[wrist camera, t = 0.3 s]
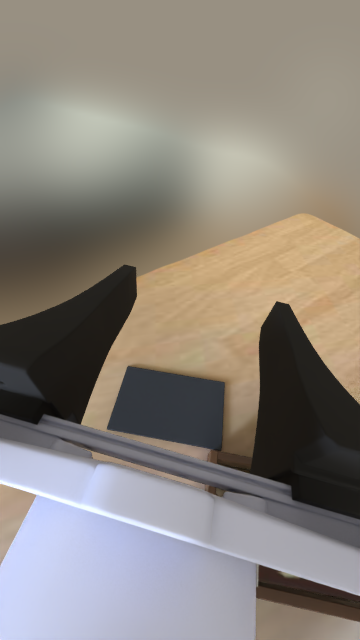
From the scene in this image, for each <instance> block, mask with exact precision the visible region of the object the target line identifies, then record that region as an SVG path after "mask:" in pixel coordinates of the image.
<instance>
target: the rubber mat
mask: <svg viewBox="0 0 360 640" xmlns="http://www.w3.org/2000/svg"><path fill="white" fill-rule="evenodd" d="M224 387H225V382H219V381H213V380H207V379H201V378H195V377H189V376H183V375H177V374H172V373H166V372H160V371H154V370H148V369H142V368H136V367H130V366H128V367H127V370H126V373H125V376H124V379H123V382H122V385H121V388H120V391H119V394H118V397H117V400H116V403H115V406H114V409H113V412H112V415H111V418H110V421H109V424H108V427H107V429H108V430H114V431H119V432H124V433H129V434H135V435H140V436H145V437H151V438H156V439H161V440H167V441H172V442H177V443H183V444H188V445H193V446H198V447H204V448H209V449H214V450H220V451H221V449H222V429H223V408H224Z"/></svg>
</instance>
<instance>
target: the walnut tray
mask: <svg viewBox="0 0 360 640" xmlns="http://www.w3.org/2000/svg"><path fill="white" fill-rule="evenodd" d="M207 462H211V463H214V464H222V465H227V466H233V467H238V468H243V469H248V470H251V464H252V458H251V457H245V456H240V455H235V454H229V453H224V452H218V451H214V450H211V451H210V453H209V454H208V461H207ZM205 491H207V492H209V493H211V494H214V495H215V494H216V487H212V486H209V485H206V486H205ZM256 598H258V599H262V600H267V601H271V602H275V603H280V604H284V605H288V606H293V607H297V608H301V609H306V610H310V611H314V612H319V613H323V614H327V615H332V616H336V617H340V618H345V619H349V620H353V621H358V622H360V603H357V602H352V601H348V600H343V599H339V598H335V597H330V596H326V595H321V594H317V593H312V592H308V591H303V590H299V589H295V588H290V587H286V586H281V585H277V584H267V583H264V582H259V581H258V587H256Z"/></svg>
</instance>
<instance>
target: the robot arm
mask: <svg viewBox="0 0 360 640" xmlns="http://www.w3.org/2000/svg"><path fill="white" fill-rule="evenodd" d="M136 297H137V285H136V267H133V266H128V265H123V266H122V267H120V268H119V269H117V270H116V271H115V272H113V273H112V274H110V275H109V276H107V277H106V278H105V279H103V280H102V281H100V282H99V283H97V284H96V285H94V286H93V287H91V288H89V289H88V290H86V291H84V292H83V293H81V294H79V295H77V296H76V297H74V298H72V299H70V300H68V301H66V302H64V303H62V304H60V305H57V306H55V307H52V308H50V309H47V310H45V311H43V312H40V313H38V314H35V315H32V316H29V317H26V318H23V319H20V320H17V321H14V322H10V323H7V324H3V325H0V483H1V484H4V485H8V486H11V487H14V488H17V489H20V490H24V491H27V492H30V493H33V494H36V495H37V496H36V498H35V500H34V502H33V504H32V506H31V508H30V510H29V512H28V514H27V515H26V517H25V519H24V521H23V523H22V525H21V527H20V529H19V531H18V533H17V535H16V537H15V539H14V541H13V543H12V545H11V546H10V548H9V550H8V552H7V554H6V556H5V558H4V560H3V562H2V564H1V566H0V640H256V564H259V565H263V566H266V567H269V568H272V569H275V570H279V571H282V572H285V573H288V574H291V575H295V576H298V577H301V578H304V579H307V580H311V581H314V582H317V583H320V584H323V585H326V586H330V587H333V588H336V589H339V590H342V591H346V592H349V593H352V594H355V595H358V596H360V404H359V403H358V402H357V401H356V400H355V399H354V398H353V397H352V396H351V395H350V394H349V393H348V392H347V390H346V389H345V388H344V387H343V386H342V385H341V384H340V383H339V381H338V380H337V379H336V378H335V377H334V375H333V374H332V373H331V371H330V370H329V369H328V368H327V366H326V365H325V364H324V362H323V361H322V360H321V358H320V357H319V355H318V354H317V352H316V351H315V349H314V348H313V346H312V344H311V343H310V341H309V340H308V338H307V336H306V334H305V333H304V331H303V329H302V327H301V326H300V324H299V322H298V320H297V318H296V316H295V315H294V313H293V311H292V309H291V307H290V305H289V304H285V303H281V302H277V301H276V303H275V305H274V307H273V308H272V310H271V312H270V313H269V315H268V317H267V318H266V320H265V322H264V323H263V325H262V327H261V332H260V340H259V366H260V397H259V409H258V419H257V428H256V436H255V444H254V451H253V457H252V464H251V470H250V474H249V473H245V472H242V471H238V470H235V469H232V468H228V467H225V466H221V465H218V464H214V463H211V462H207V461H204V460H201V459H197V458H194V457H190V456H187V455H183V454H180V453H176V452H173V451H170V450H166V449H163V448H159V447H156V446H152V445H149V444H145V443H142V442H139V441H135V440H132V439H128V438H125V437H121V436H118V435H114V434H111V433H108V432H104V431H101V430H97V429H94V428H90V427H87V426H83V425H81V422H82V419H83V416H84V413H85V410H86V407H87V405H88V402H89V399H90V396H91V394H92V391H93V389H94V386H95V383H96V381H97V378H98V376H99V373H100V371H101V369H102V366H103V364H104V361H105V359H106V357H107V355H108V352H109V350H110V348H111V346H112V344H113V343H114V341H115V339H116V337H117V336H118V334H119V332H120V330H121V329H122V327H123V325H124V323H125V321H126V320H127V318H128V316H129V314H130V312H131V310H132V308H133V305H134V303H135V300H136ZM80 447H81V448H80ZM82 448H84V449H82ZM85 449H87V450H91V451H94V452H98V453H101V454H104V455H108V456H111V457H114V458H118V459H121V460H125V461H128V462H131V463H135V464H138V465H141V466H145V467H148V468H152V469H155V470H158V471H162V472H165V473H168V474H172V475H175V476H179V477H182V478H185V479H189V480H192V481H195V482H199V483H202V484H206V485H209V486H212V487H216V488H219V489H222V490H226V491H229V492H225V493H224V495H223V496H222V497H219V496H216V495H214V494H211V493H209V492H207V491H205V490H203V489H200V488H197V487H194V486H191V485H188V484H185V483H181V482H178V481H175V480H171V479H168V478H165V477H161V476H158V475H155V474H151V473H148V472H144V471H141V470H138V469H134V468H131V467H128V466H124V465H120V464H116V463H112V462H104V461H100V460H95V459H93V458H92V453H91V452H90V451H87V450H85Z"/></svg>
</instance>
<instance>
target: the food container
mask: <svg viewBox="0 0 360 640" xmlns="http://www.w3.org/2000/svg"><path fill="white" fill-rule="evenodd" d="M258 581H259V582H264V583H267V584H277V585H283V586H287V587H292V588H297V589H301V590H306V591H311V592H317V593H322V594H326V595H331V596H335V597H340V598H344V599H349V600H354V601H359V602H360V596H358V595H355V594H352V593H349V592H346V591H342V590H339V589H336V588H333V587H330V586H326V585H323V584H320V583H317V582H314V581H311V580H307V579H304V578H301V577H298V576H295V575H291V574H288V573H285V572H282V571H279V570H275V569H272V568H269V567H266V566H263V565H259V564H256V587H258Z"/></svg>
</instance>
